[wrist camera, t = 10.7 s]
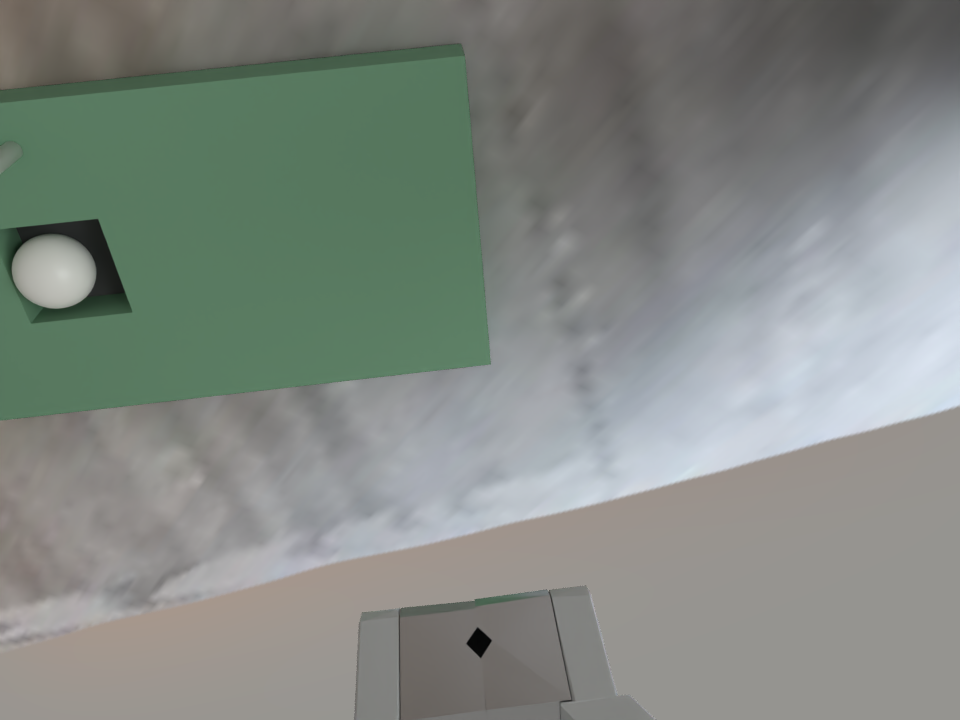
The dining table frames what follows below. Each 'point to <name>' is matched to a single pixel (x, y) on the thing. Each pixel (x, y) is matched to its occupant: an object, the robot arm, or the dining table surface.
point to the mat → (243, 229)
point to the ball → (54, 271)
